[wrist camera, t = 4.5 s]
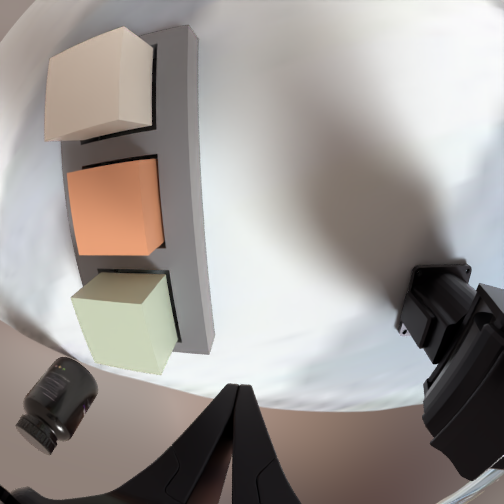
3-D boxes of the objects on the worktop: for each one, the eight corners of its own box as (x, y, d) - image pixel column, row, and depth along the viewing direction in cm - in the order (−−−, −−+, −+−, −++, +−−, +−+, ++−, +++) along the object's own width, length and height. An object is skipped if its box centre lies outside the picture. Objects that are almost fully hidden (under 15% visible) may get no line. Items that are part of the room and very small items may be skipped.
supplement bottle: (106, 400, 28) (68, 469, 16) (68, 386, 28) (28, 445, 17) (89, 361, 25) (37, 436, 14) (50, 348, 26) (-2, 409, 14)
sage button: (165, 274, 18) (141, 304, 14) (177, 339, 20) (161, 375, 16) (101, 272, 18) (70, 297, 14) (117, 332, 20) (95, 362, 16)
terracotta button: (164, 158, 17) (138, 160, 13) (171, 235, 19) (148, 255, 15) (100, 167, 17) (66, 173, 14) (108, 237, 19) (79, 255, 16)
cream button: (153, 48, 13) (123, 26, 9) (151, 125, 14) (118, 119, 11) (85, 69, 13) (49, 58, 9) (83, 140, 15) (44, 141, 11)
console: (198, 38, 14) (188, 24, 12) (215, 335, 22) (209, 354, 20) (82, 70, 15) (64, 64, 13) (113, 326, 23) (100, 341, 21)
